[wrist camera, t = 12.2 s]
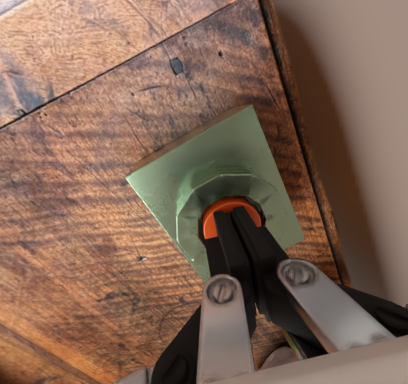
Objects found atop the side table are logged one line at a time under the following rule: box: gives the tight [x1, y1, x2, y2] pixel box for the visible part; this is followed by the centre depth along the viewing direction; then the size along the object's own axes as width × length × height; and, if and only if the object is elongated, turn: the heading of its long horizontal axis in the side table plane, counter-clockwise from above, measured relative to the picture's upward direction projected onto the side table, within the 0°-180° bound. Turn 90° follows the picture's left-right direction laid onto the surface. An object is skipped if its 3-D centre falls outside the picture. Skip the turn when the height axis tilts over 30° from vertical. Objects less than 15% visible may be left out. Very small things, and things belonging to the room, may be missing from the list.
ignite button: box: [201, 196, 261, 239], centre depth 11 cm, size 3×3×2 cm
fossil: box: [259, 347, 299, 371], centre depth 24 cm, size 9×6×10 cm
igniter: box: [125, 104, 305, 283], centre depth 13 cm, size 10×8×6 cm
